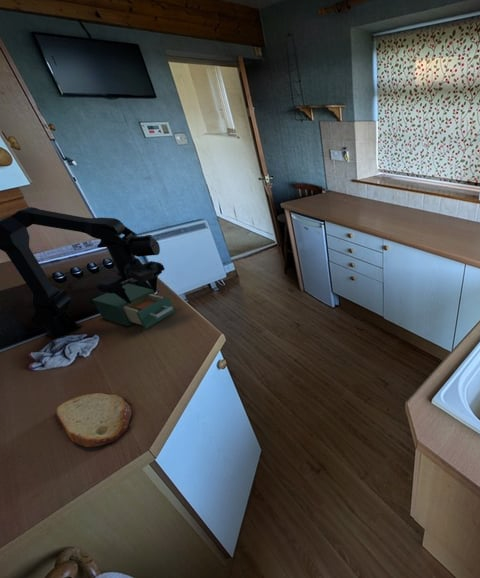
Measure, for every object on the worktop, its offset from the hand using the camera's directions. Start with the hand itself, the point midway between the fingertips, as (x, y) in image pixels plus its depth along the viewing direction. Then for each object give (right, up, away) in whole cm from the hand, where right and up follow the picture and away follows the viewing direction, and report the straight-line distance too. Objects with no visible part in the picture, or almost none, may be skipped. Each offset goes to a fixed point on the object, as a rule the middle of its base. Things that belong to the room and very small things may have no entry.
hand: (142, 296), depth 105 cm
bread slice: (+14, -31, -32) cm, 46 cm away
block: (0, -7, +4) cm, 8 cm away
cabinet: (-10, -7, +8) cm, 15 cm away
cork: (-28, +8, +31) cm, 43 cm away
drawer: (0, -8, +4) cm, 9 cm away
